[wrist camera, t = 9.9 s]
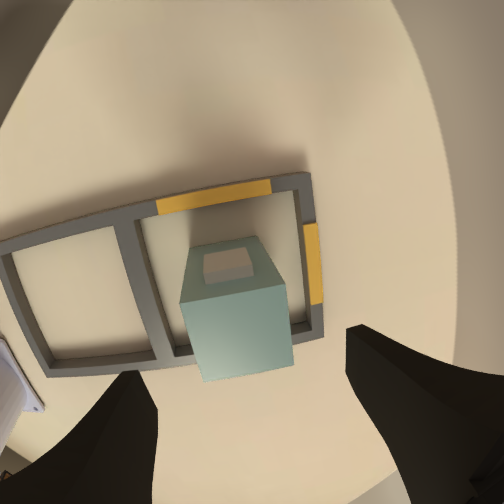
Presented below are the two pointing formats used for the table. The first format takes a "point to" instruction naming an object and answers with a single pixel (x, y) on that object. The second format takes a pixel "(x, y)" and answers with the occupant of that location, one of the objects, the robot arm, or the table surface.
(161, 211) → the dock
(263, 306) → the pale teal rectangular block
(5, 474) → the ammunition clip
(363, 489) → the table surface
